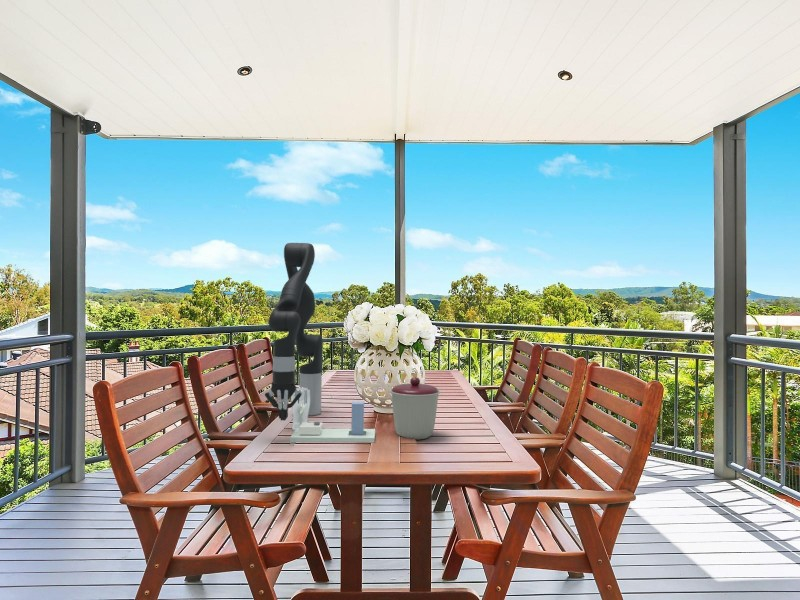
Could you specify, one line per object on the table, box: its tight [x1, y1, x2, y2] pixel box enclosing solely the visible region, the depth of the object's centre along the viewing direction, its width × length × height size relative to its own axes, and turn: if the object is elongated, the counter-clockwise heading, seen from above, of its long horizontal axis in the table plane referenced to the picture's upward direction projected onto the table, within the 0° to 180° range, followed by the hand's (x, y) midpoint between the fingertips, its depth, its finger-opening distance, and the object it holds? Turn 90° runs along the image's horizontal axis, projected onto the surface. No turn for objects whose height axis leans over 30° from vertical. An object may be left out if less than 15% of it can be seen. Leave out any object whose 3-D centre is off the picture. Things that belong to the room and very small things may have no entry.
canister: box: [389, 377, 441, 441], centre depth 189 cm, size 18×18×21 cm
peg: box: [350, 401, 365, 436], centre depth 182 cm, size 4×4×12 cm
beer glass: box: [290, 386, 310, 431], centre depth 196 cm, size 7×7×15 cm
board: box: [289, 428, 376, 445], centre depth 182 cm, size 12×28×2 cm, turn 92°
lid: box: [299, 421, 323, 435], centre depth 182 cm, size 7×7×3 cm
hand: (283, 419), depth 181 cm, fingers closed
